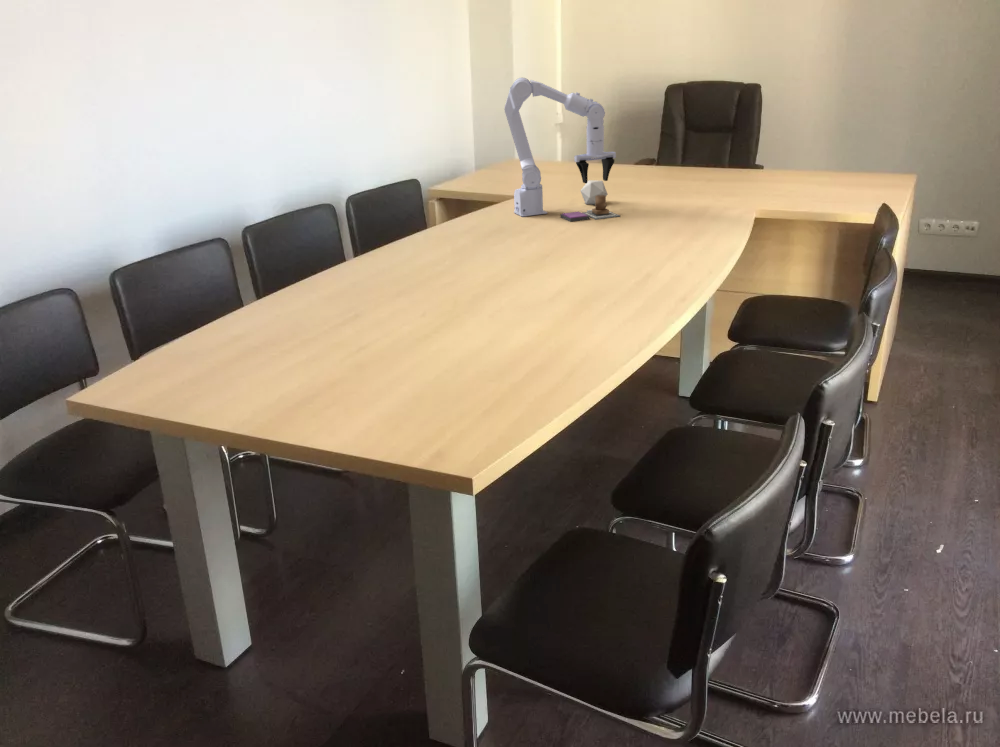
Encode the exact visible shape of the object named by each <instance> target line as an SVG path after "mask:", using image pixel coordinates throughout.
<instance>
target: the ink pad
mask: <svg viewBox="0 0 1000 747" xmlns="http://www.w3.org/2000/svg"><path fill="white" fill-rule="evenodd" d="M559 217H560V218H561V219H564V220H565V221H568V222H570V223H571V222H579V221H580V220H581V221H587V220H590V218H591V217H590V216H588V215H586V214H583V212H580V211H572V212H571V211H570V212H564V213H560V215H559Z"/></svg>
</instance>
